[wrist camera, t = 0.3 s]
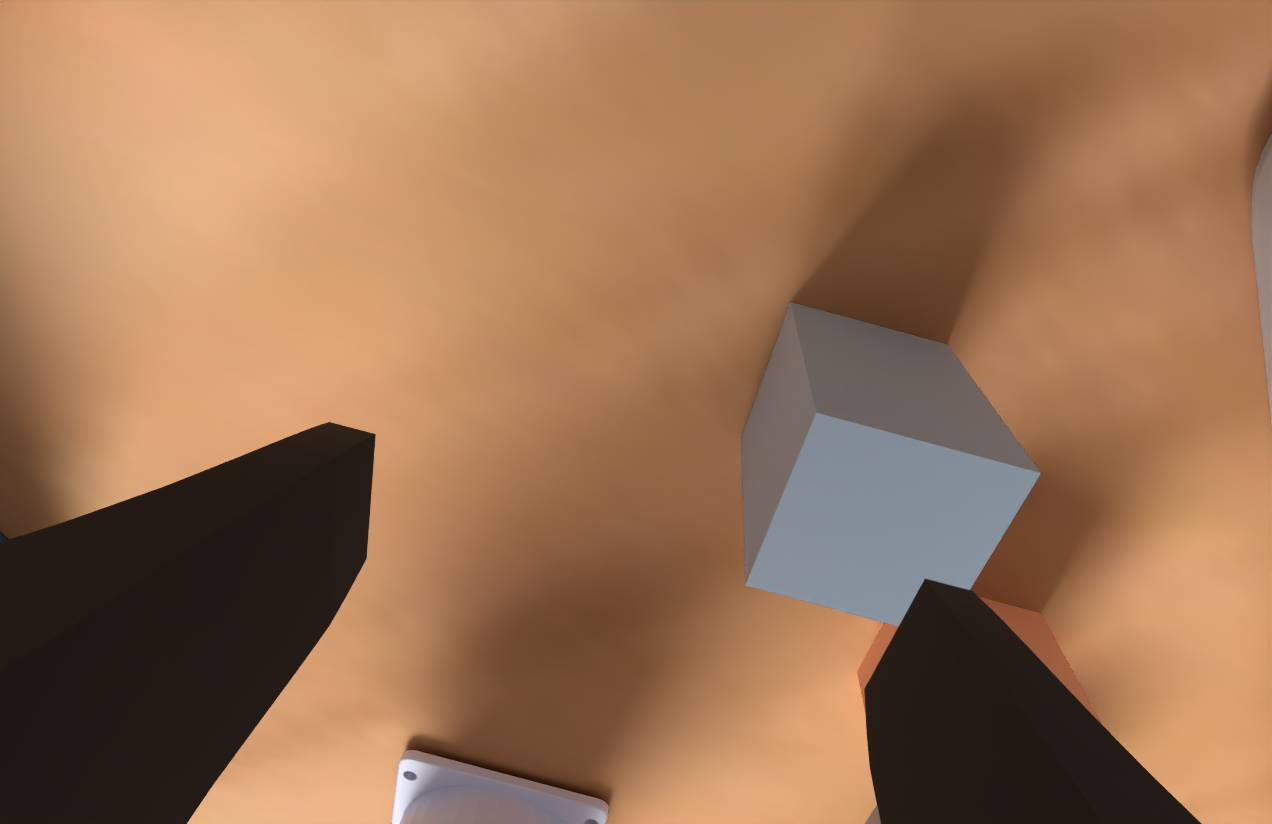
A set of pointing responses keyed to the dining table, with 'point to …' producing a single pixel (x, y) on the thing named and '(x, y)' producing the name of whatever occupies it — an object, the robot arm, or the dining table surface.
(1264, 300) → the tablet
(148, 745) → the robot arm
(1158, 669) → the dining table surface
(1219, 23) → the dining table surface
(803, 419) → the slate-blue block
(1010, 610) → the terracotta block
